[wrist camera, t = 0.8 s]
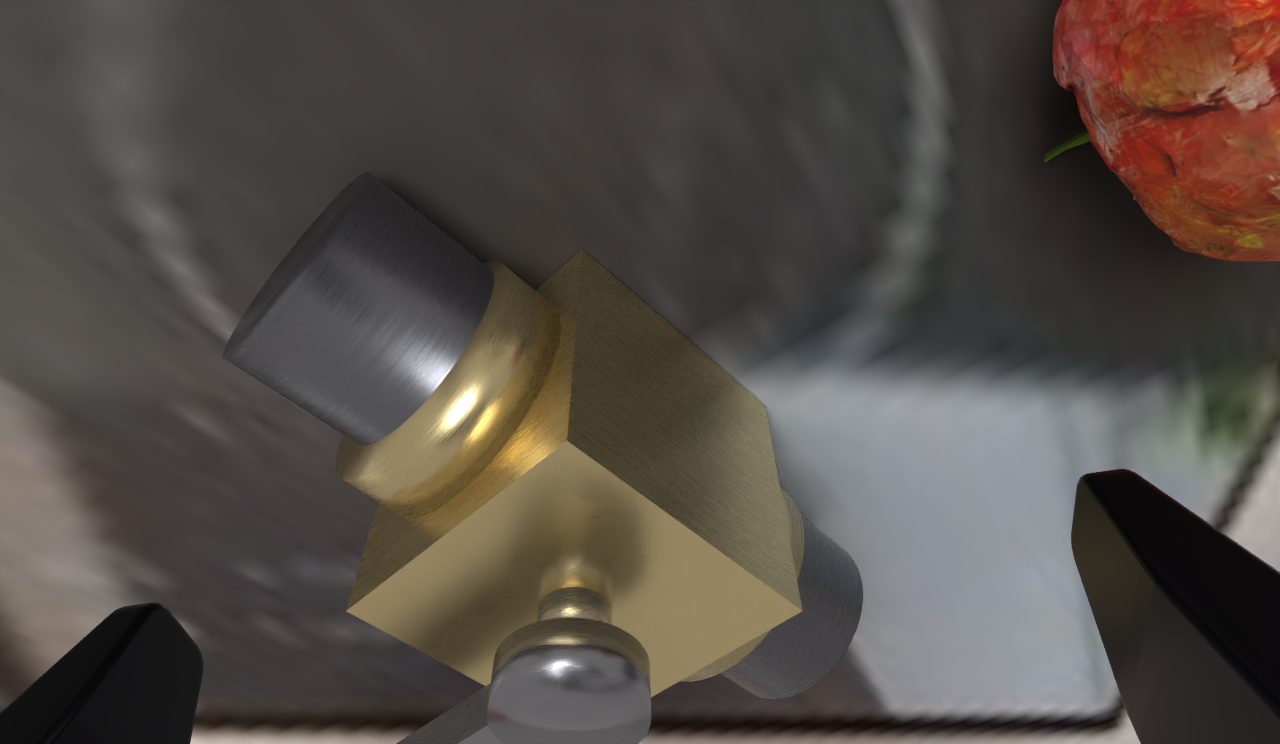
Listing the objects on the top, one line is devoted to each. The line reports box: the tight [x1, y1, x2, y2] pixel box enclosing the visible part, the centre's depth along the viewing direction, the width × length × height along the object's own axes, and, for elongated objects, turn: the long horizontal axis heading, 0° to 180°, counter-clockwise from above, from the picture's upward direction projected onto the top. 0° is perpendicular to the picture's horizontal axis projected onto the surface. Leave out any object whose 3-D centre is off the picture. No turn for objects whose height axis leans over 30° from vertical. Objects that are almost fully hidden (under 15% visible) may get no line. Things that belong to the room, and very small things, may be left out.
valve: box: [223, 172, 863, 699], centre depth 23 cm, size 17×7×8 cm, turn 44°
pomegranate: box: [1043, 0, 1280, 262], centre depth 17 cm, size 7×7×10 cm
